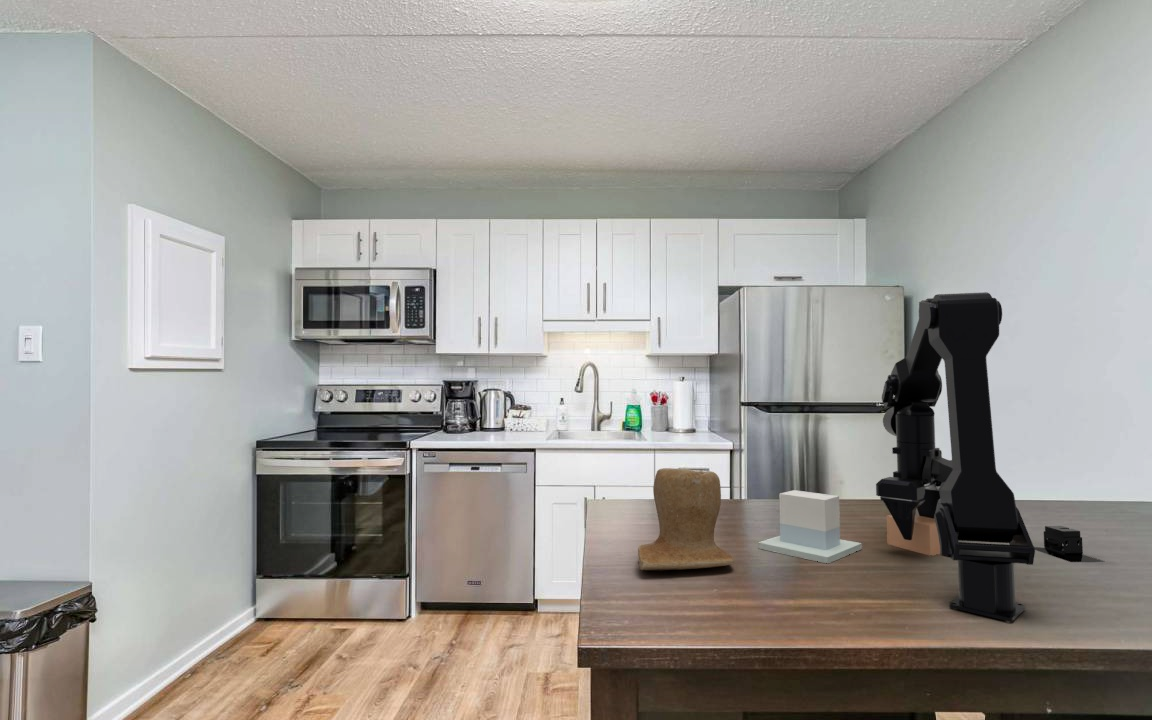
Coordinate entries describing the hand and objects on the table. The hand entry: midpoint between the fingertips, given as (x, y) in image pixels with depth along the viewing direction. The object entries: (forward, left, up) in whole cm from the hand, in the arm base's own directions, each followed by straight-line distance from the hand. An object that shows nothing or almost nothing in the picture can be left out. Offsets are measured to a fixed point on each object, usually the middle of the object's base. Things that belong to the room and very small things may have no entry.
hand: (918, 535), depth 102 cm
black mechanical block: (+13, -17, -3) cm, 22 cm away
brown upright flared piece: (-37, +21, -2) cm, 43 cm away
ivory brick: (-14, +12, +2) cm, 19 cm away
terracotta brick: (0, 0, -2) cm, 2 cm away
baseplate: (-14, +12, -2) cm, 19 cm away
